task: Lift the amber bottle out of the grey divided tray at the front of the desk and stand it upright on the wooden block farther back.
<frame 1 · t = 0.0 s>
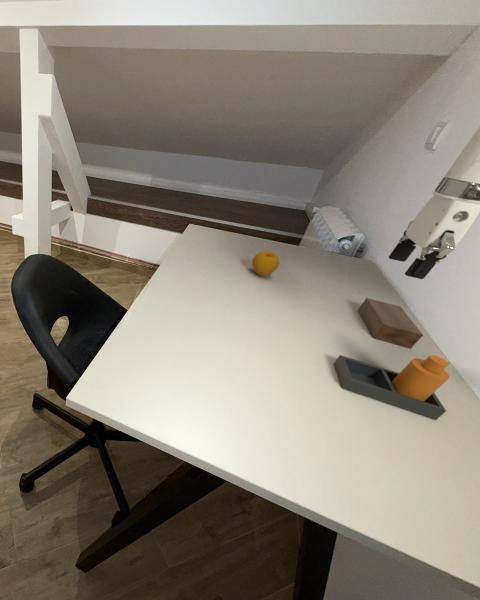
hand: (404, 267, 70), 25 cm above the table, tool pointing down, fingers open, 9 cm apart
grey divided tray: (378, 391, 72), on the table
bottle: (401, 396, 70), point 1 cm above the table, touching grey divided tray
wooden block: (381, 328, 94), on the table
apple: (259, 274, 118), on the table
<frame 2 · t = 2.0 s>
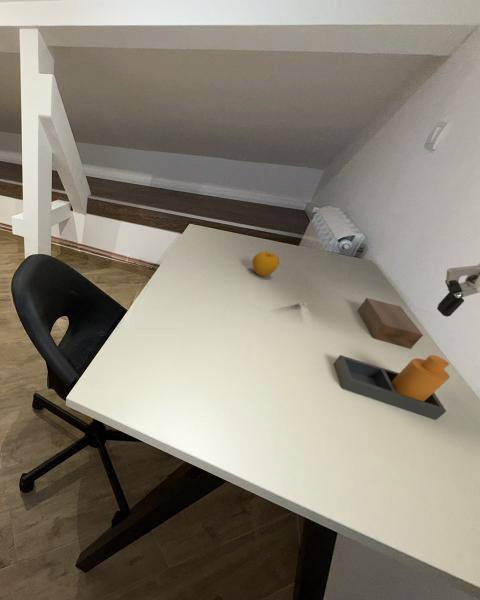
hand: (474, 321, 59), 22 cm above the table, tool pointing down, fingers open, 9 cm apart
nothing on the table moved.
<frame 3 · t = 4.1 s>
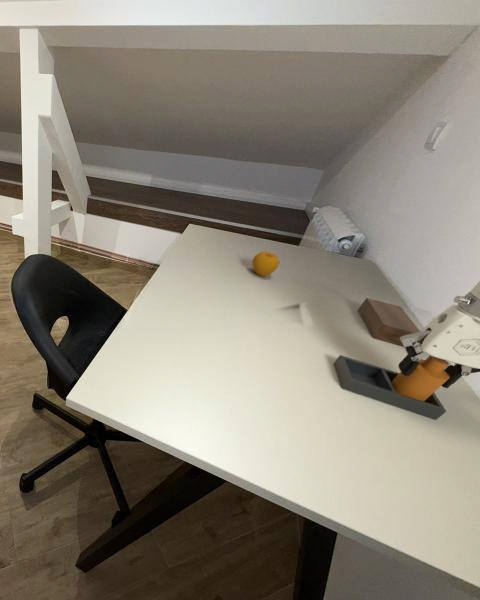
hand: (422, 376, 67), 7 cm above the table, tool pointing down, fingers closed on bottle, 6 cm apart
bottle: (401, 396, 70), point 1 cm above the table, touching grey divided tray, gripper
everything else where it was.
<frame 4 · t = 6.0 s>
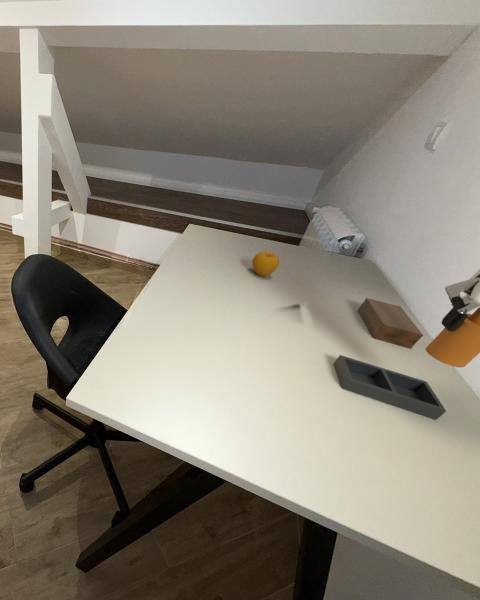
hand: (469, 332, 60), 20 cm above the table, tool pointing down, fingers closed on bottle, 6 cm apart
bottle: (444, 356, 63), point 13 cm above the table, touching gripper
everything else where it was.
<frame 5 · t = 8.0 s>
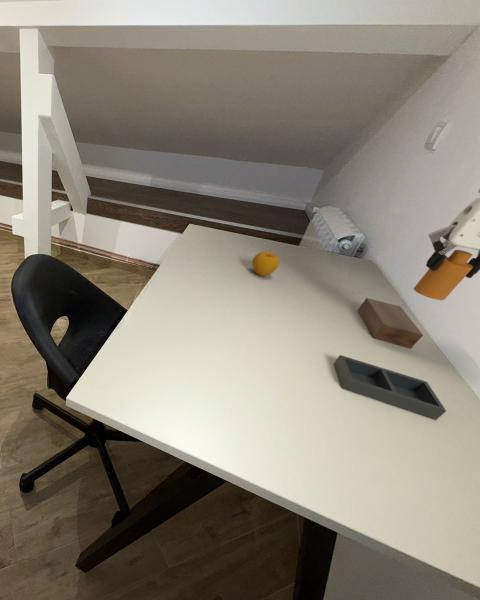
hand: (447, 271, 75), 23 cm above the table, tool pointing down, fingers closed on bottle, 6 cm apart
bottle: (428, 293, 79), point 17 cm above the table, touching gripper
everything else where it was.
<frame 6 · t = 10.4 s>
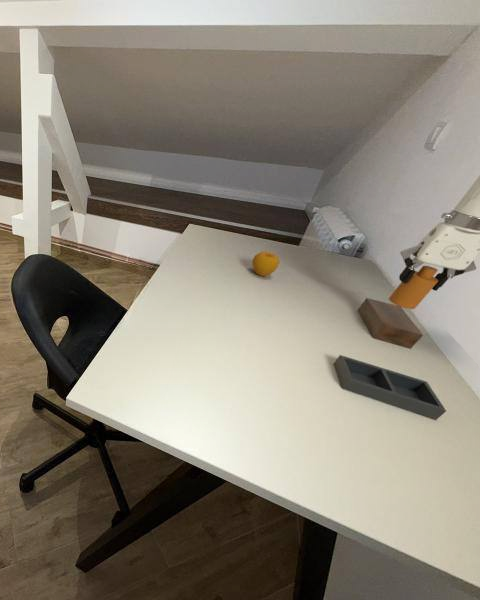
hand: (417, 284, 86), 16 cm above the table, tool pointing down, fingers closed on bottle, 6 cm apart
bottle: (401, 303, 89), point 9 cm above the table, touching gripper
everything else where it was.
when the fingers open (11 cm above the table, at t = 12.0 s): bottle stays where it is, resting on wooden block.
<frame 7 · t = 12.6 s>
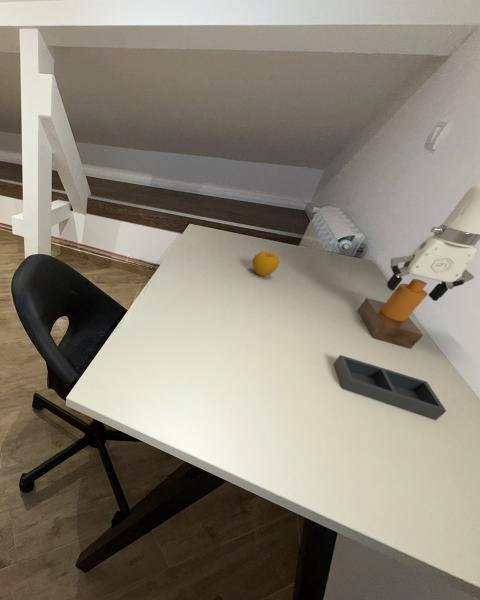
hand: (410, 293, 87), 13 cm above the table, tool pointing down, fingers open, 9 cm apart
bottle: (392, 314, 92), point 5 cm above the table, touching wooden block
everything else where it was.
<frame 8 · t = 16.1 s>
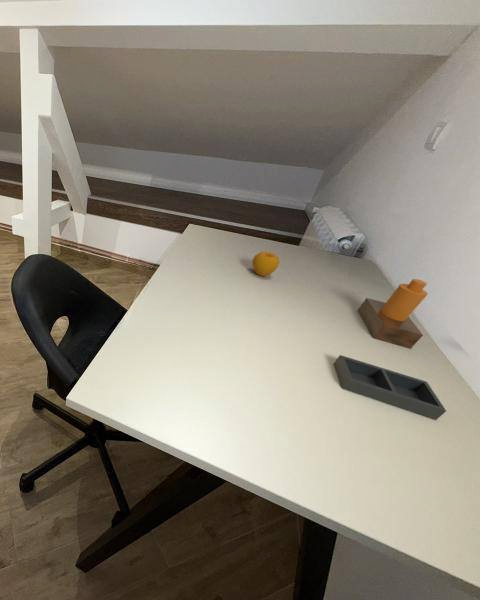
nothing on the table moved.
at the end: bottle inside the target area on the wooden block (0.0 cm from its centre), point 5.0 cm above the wooden block's base; bottle tilted 0°; the gripper is holding nothing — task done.
